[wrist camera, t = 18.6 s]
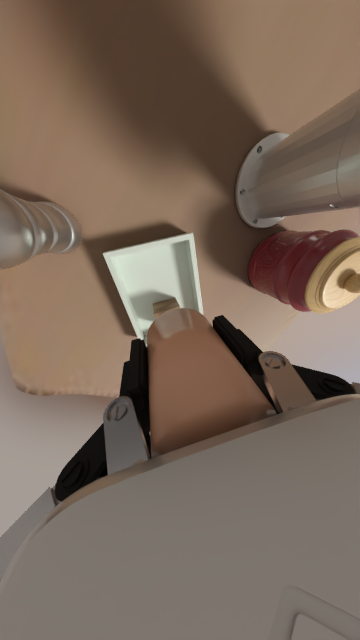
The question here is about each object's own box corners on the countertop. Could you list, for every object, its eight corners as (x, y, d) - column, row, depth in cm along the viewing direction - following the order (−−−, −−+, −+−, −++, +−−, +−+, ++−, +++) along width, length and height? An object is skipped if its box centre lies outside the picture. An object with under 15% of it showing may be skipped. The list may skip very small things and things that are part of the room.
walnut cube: (175, 297, 33) (179, 306, 29) (179, 316, 36) (184, 328, 31) (152, 303, 33) (154, 313, 28) (158, 322, 35) (161, 335, 31)
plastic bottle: (95, 240, 26) (6, 253, 9) (60, 259, 26) (-90, 306, 9) (65, 196, 23) (-167, 82, 6) (25, 217, 23) (-312, 172, 6)
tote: (186, 232, 28) (193, 232, 25) (199, 321, 39) (205, 330, 35) (107, 250, 27) (102, 253, 24) (142, 337, 37) (142, 348, 34)
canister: (245, 297, 38) (313, 338, 23) (247, 238, 31) (345, 242, 16) (292, 284, 39) (387, 315, 24) (304, 224, 32) (445, 217, 17)
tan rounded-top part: (207, 300, 11) (287, 381, 5) (212, 352, 13) (269, 447, 7) (137, 318, 10) (130, 434, 4) (156, 369, 13) (169, 484, 7)
